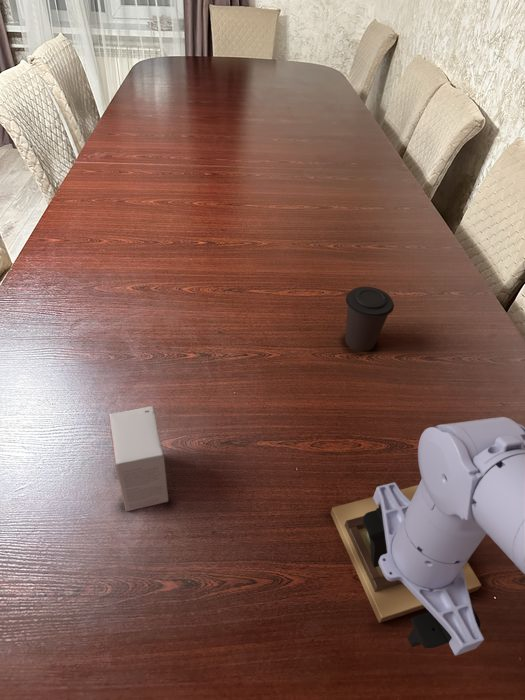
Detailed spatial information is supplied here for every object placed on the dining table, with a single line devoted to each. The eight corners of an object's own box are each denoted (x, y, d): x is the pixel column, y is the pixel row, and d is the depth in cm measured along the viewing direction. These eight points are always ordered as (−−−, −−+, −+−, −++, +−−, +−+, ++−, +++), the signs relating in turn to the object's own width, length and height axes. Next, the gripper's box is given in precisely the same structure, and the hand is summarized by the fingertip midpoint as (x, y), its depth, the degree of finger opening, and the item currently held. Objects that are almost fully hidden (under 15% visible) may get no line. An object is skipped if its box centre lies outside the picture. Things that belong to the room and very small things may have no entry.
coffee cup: (391, 344, 93) (405, 299, 86) (362, 363, 89) (374, 318, 82) (357, 321, 97) (368, 276, 91) (328, 338, 93) (336, 293, 86)
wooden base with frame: (477, 590, 61) (485, 580, 60) (379, 623, 58) (384, 613, 56) (417, 490, 71) (423, 479, 69) (330, 513, 68) (333, 502, 66)
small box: (118, 462, 71) (107, 412, 64) (159, 453, 73) (153, 403, 66) (125, 513, 66) (114, 465, 59) (169, 503, 67) (163, 454, 60)
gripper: (356, 466, 46) (332, 541, 55) (446, 639, 36) (398, 695, 45) (426, 449, 47) (392, 525, 57) (530, 609, 37) (468, 669, 47)
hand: (399, 599), depth 51 cm, fingers open, 7 cm apart
